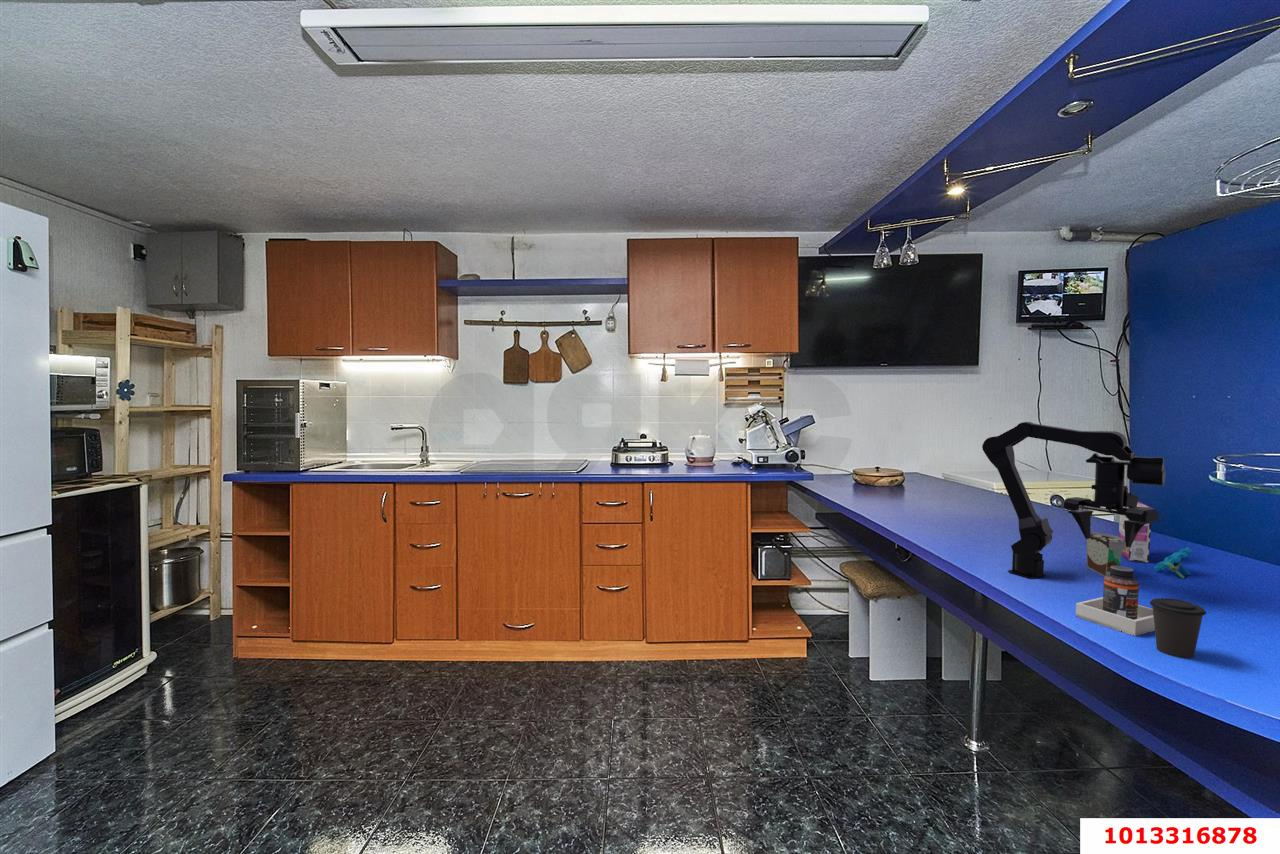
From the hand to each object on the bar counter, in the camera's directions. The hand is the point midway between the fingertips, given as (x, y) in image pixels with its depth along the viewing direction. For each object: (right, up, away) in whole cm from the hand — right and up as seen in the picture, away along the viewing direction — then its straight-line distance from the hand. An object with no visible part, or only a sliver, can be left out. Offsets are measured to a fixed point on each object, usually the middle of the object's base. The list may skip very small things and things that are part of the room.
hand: (1107, 542), depth 147 cm
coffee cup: (-15, -15, -34) cm, 40 cm away
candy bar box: (+31, -10, +29) cm, 43 cm away
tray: (-13, -13, -20) cm, 27 cm away
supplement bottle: (-13, -13, -20) cm, 27 cm away
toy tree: (+29, -11, +14) cm, 34 cm away
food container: (+12, -11, +14) cm, 22 cm away
